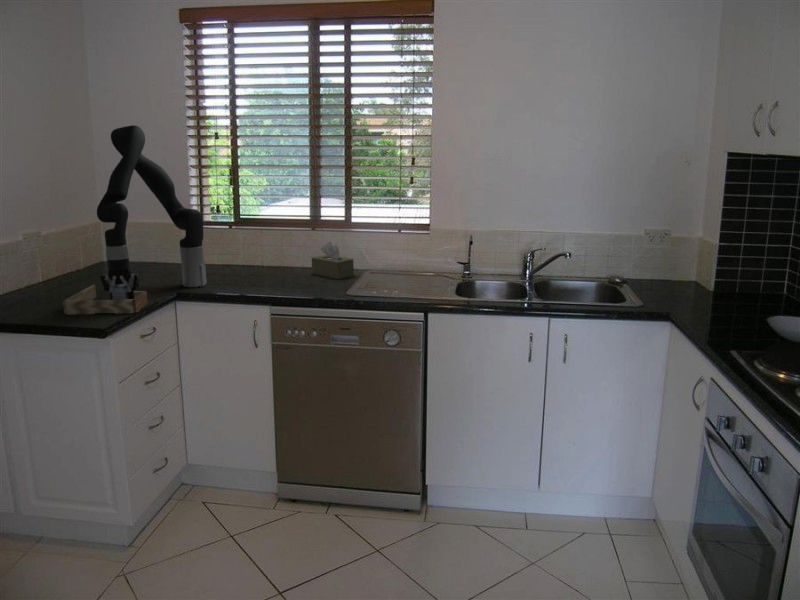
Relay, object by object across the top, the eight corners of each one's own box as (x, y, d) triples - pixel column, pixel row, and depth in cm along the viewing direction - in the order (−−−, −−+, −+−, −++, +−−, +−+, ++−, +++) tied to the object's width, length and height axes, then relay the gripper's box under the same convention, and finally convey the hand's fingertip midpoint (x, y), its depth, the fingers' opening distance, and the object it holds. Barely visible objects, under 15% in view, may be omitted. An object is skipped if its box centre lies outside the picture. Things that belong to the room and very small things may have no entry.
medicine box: (126, 311, 246) (123, 288, 244) (113, 311, 246) (110, 288, 244) (133, 305, 254) (130, 283, 252) (121, 306, 254) (118, 284, 252)
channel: (158, 295, 270) (157, 283, 268) (136, 313, 243) (134, 299, 242) (93, 296, 268) (92, 284, 267) (64, 314, 242) (62, 301, 241)
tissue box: (311, 274, 309) (310, 240, 305) (327, 270, 316) (325, 238, 312) (338, 279, 297) (337, 245, 293) (354, 276, 304) (353, 242, 300)
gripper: (140, 255, 249) (145, 298, 253) (102, 255, 248) (107, 299, 252) (133, 258, 242) (138, 303, 246) (94, 259, 241) (99, 304, 245)
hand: (122, 301), depth 249 cm, fingers open, 5 cm apart
